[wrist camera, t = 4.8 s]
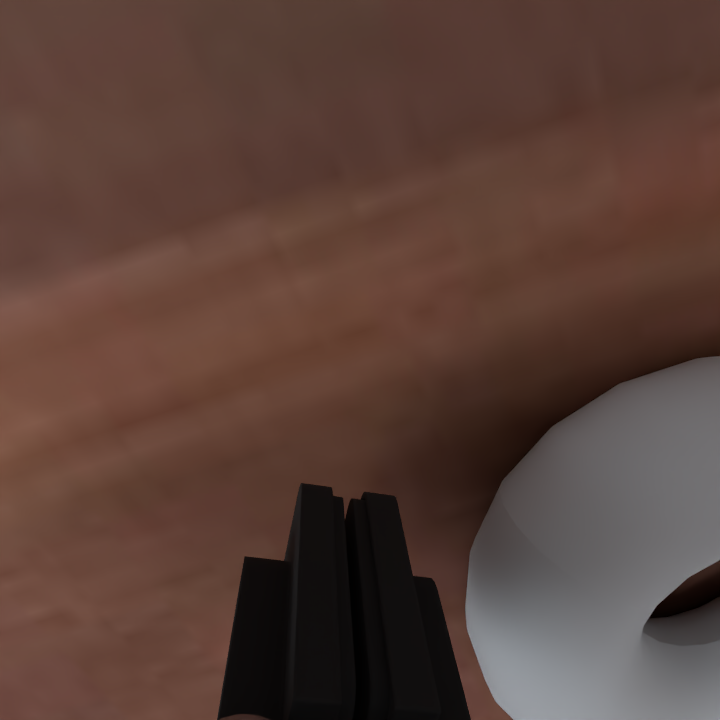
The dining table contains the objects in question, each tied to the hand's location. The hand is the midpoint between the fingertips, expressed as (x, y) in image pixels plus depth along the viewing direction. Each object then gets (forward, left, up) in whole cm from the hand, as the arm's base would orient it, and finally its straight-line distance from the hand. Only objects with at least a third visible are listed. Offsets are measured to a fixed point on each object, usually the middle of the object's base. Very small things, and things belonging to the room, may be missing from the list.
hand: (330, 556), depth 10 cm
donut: (0, +8, -2) cm, 8 cm away
